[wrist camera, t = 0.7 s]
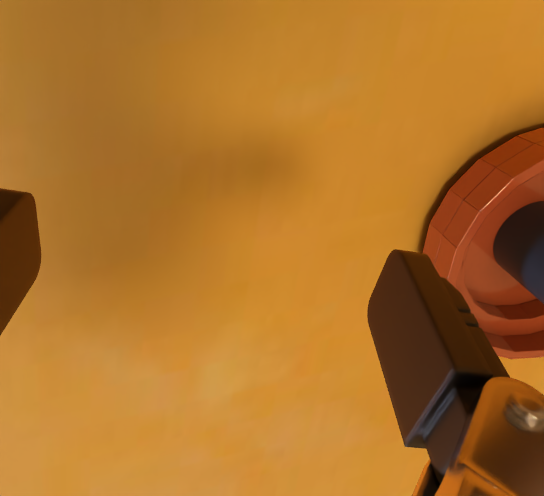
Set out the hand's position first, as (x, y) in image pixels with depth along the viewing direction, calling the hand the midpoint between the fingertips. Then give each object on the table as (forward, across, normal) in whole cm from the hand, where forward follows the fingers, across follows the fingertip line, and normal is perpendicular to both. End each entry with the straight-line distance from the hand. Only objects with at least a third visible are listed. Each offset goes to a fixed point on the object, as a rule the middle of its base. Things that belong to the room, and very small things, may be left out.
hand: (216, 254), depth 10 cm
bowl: (+19, -23, +8) cm, 30 cm away
